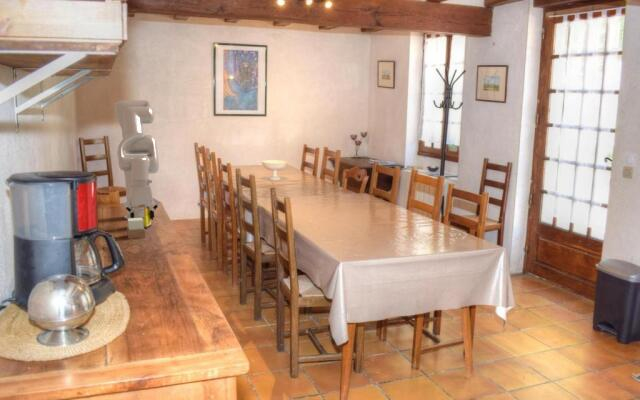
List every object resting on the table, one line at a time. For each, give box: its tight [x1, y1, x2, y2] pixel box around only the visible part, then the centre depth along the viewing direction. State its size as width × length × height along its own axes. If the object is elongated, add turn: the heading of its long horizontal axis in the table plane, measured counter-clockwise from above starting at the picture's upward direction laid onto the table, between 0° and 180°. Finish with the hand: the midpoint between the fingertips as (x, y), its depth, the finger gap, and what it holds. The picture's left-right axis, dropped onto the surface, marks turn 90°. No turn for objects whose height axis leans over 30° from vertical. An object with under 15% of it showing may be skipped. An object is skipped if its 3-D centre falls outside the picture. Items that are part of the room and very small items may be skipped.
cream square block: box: [127, 217, 144, 230], centre depth 256 cm, size 6×6×4 cm
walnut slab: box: [126, 226, 146, 240], centre depth 256 cm, size 7×7×4 cm
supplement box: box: [134, 205, 152, 229], centre depth 274 cm, size 6×6×11 cm
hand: (142, 219), depth 274 cm, fingers closed on supplement box, 8 cm apart
